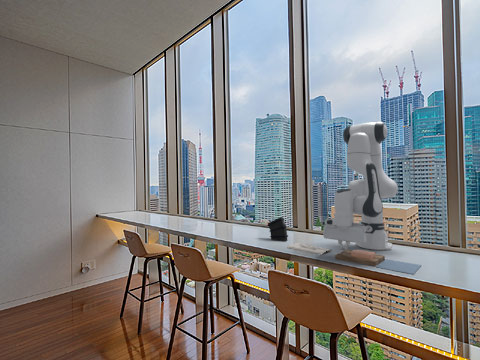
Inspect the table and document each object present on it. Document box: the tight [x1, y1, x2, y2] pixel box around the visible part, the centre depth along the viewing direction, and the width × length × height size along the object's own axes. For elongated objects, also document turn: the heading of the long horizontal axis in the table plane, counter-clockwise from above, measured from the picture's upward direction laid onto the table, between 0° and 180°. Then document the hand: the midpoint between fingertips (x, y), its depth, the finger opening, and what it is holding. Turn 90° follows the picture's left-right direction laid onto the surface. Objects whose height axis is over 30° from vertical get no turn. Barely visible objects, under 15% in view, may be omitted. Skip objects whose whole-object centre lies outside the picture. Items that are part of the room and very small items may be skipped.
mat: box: [375, 259, 422, 276], centre depth 117 cm, size 16×14×1 cm
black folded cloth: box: [267, 216, 289, 242], centre depth 175 cm, size 4×13×15 cm, turn 53°
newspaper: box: [286, 242, 333, 256], centre depth 150 cm, size 23×12×2 cm, turn 43°
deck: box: [334, 249, 386, 267], centre depth 129 cm, size 14×18×2 cm
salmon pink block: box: [351, 249, 376, 259], centre depth 127 cm, size 9×6×2 cm, turn 46°
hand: (344, 249), depth 133 cm, fingers closed
